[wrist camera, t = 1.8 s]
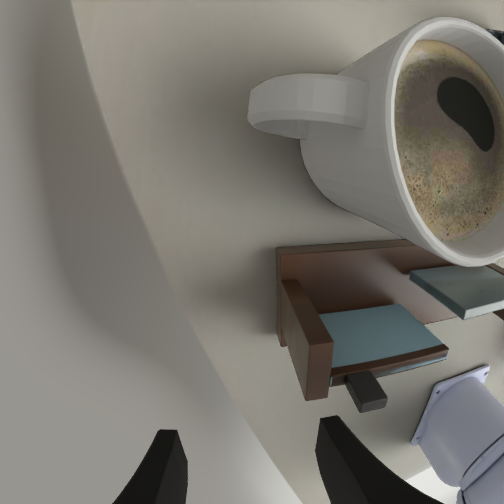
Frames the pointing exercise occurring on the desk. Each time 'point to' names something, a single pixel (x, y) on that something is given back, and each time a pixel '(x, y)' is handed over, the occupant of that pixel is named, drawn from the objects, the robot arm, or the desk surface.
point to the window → (370, 294)
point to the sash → (377, 350)
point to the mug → (406, 136)
